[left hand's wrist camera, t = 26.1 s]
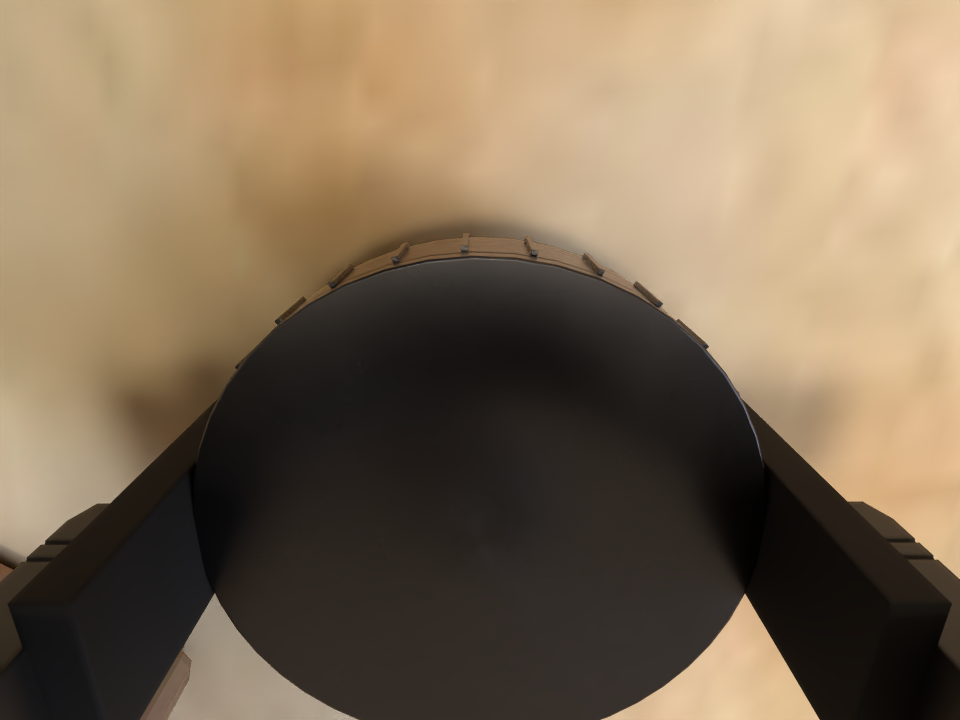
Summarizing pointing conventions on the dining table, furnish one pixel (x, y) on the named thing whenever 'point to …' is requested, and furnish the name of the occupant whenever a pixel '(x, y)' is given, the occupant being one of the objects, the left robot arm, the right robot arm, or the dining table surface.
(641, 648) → the lid
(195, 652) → the dining table surface
